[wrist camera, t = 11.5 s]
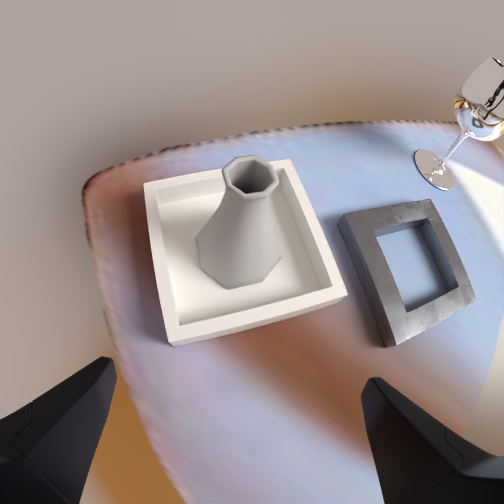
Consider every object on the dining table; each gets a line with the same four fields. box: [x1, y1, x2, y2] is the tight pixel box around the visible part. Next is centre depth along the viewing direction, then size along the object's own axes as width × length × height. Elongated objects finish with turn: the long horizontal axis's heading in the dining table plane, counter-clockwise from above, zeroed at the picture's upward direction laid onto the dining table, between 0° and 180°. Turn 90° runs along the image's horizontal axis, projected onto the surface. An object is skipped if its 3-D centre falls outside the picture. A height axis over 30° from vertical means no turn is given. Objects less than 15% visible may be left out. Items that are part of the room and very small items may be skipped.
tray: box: [144, 159, 348, 347], centre depth 25 cm, size 14×14×3 cm
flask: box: [195, 155, 282, 290], centre depth 21 cm, size 7×7×10 cm
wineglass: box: [415, 56, 504, 191], centre depth 26 cm, size 8×8×20 cm
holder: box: [337, 199, 476, 348], centre depth 26 cm, size 13×13×2 cm
